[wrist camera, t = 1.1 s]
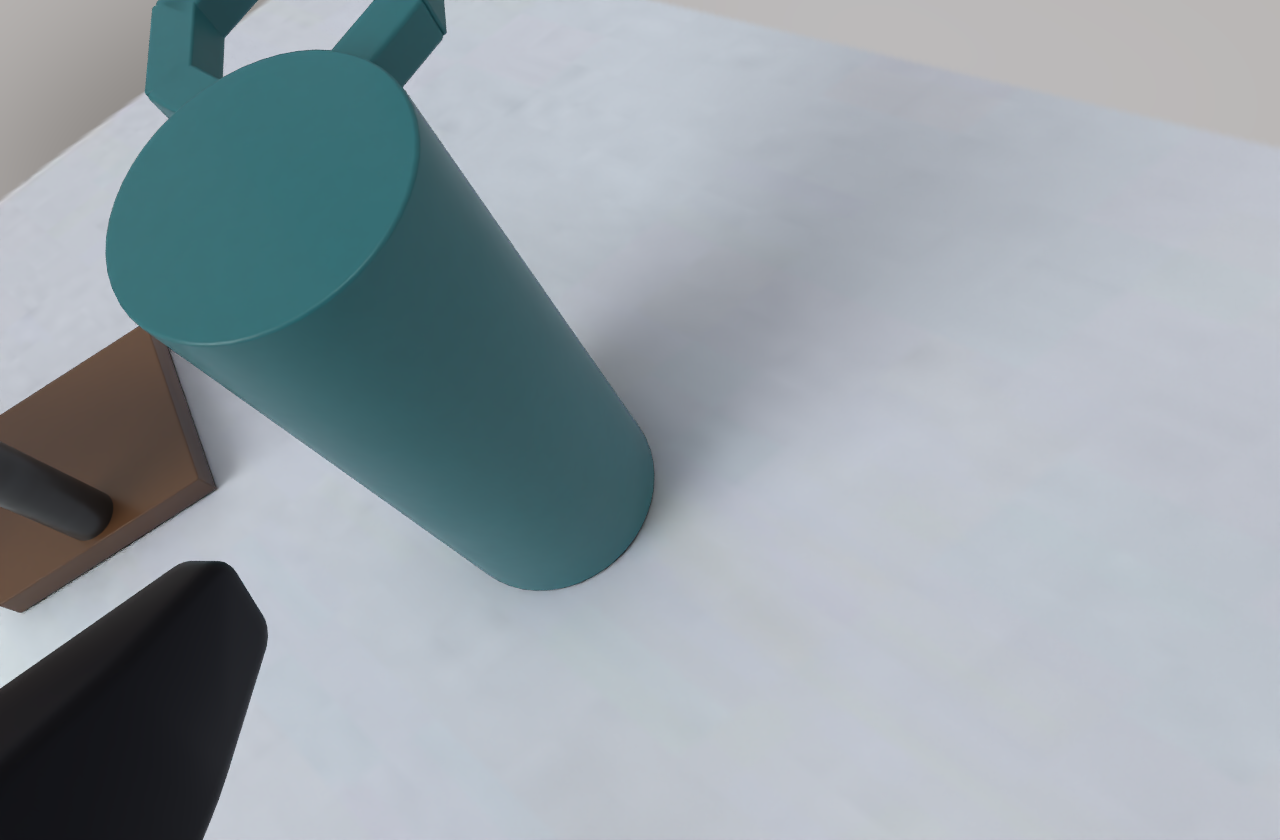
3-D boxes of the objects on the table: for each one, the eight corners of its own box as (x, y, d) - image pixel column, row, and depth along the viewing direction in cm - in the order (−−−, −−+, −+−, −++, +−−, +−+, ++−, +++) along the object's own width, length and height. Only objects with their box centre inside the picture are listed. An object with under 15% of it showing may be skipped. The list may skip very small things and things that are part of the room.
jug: (670, 564, 25) (427, 286, 14) (462, 612, 26) (88, 386, 15) (615, 228, 30) (398, -179, 19) (439, 281, 31) (136, -78, 20)
